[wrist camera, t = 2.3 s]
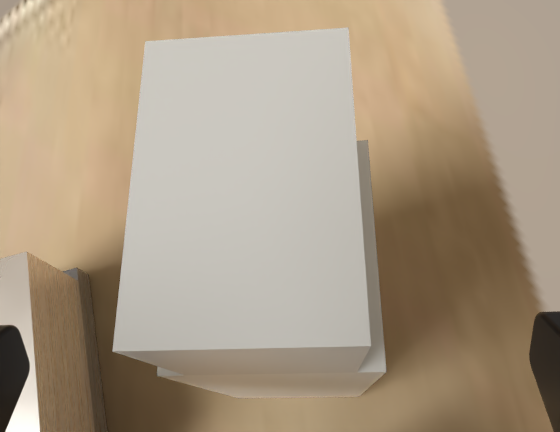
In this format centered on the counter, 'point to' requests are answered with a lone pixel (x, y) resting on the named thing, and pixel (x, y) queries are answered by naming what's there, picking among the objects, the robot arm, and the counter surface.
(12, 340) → the robot arm
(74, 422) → the mounting plate
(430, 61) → the counter surface
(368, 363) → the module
